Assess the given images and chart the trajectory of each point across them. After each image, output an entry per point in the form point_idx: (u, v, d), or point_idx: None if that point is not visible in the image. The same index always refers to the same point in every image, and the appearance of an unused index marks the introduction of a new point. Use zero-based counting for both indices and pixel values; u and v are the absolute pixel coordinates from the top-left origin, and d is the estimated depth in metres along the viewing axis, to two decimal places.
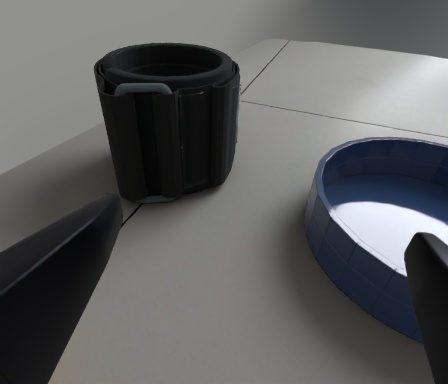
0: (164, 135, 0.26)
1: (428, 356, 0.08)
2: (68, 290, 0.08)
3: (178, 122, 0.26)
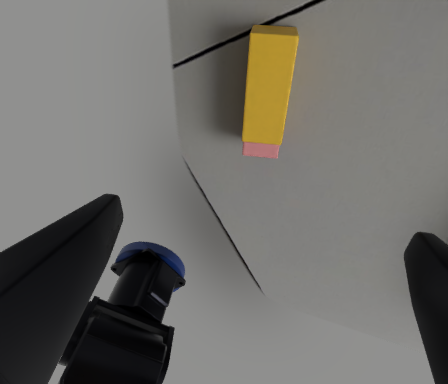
0: None
1: (428, 356, 0.08)
2: (68, 290, 0.08)
3: None
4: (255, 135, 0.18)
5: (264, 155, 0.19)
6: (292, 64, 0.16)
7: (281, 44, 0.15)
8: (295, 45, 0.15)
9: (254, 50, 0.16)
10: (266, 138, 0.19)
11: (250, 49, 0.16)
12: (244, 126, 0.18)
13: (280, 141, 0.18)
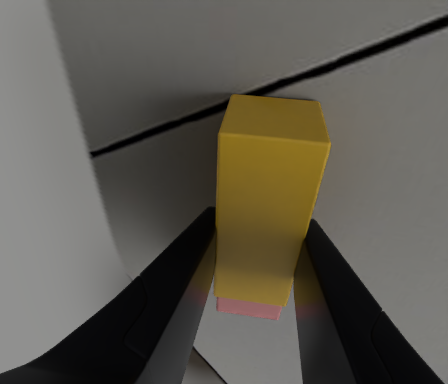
0: None
1: (298, 336, 0.08)
2: (194, 309, 0.07)
3: None
4: (238, 291, 0.10)
5: (255, 315, 0.11)
6: (313, 194, 0.07)
7: (289, 158, 0.07)
8: (322, 161, 0.07)
9: (229, 165, 0.07)
10: (258, 296, 0.10)
11: (220, 163, 0.07)
12: (216, 278, 0.10)
13: (284, 302, 0.10)
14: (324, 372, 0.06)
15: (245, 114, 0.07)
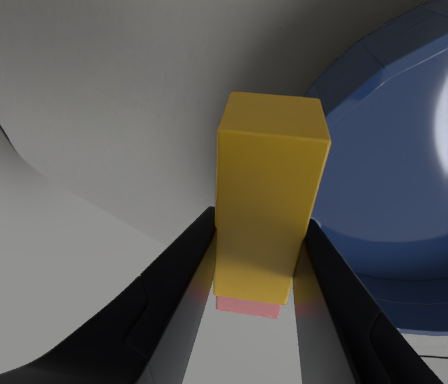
0: None
1: (298, 336, 0.08)
2: (195, 309, 0.08)
3: None
4: (237, 290, 0.10)
5: (255, 313, 0.11)
6: (313, 192, 0.07)
7: (288, 155, 0.07)
8: (322, 158, 0.07)
9: (228, 163, 0.07)
10: (258, 295, 0.10)
11: (219, 160, 0.07)
12: (216, 276, 0.10)
13: (284, 301, 0.10)
14: (323, 372, 0.06)
15: (244, 111, 0.07)
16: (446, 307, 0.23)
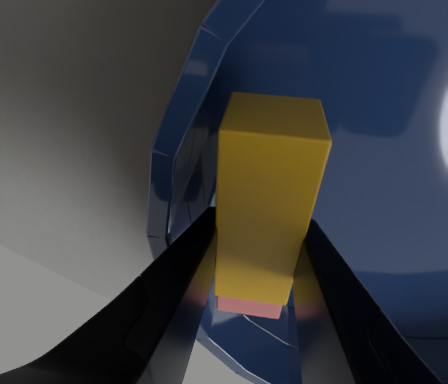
0: None
1: (298, 336, 0.08)
2: (195, 309, 0.08)
3: None
4: (238, 290, 0.10)
5: (255, 314, 0.11)
6: (314, 192, 0.07)
7: (289, 155, 0.07)
8: (323, 159, 0.07)
9: (229, 163, 0.07)
10: (259, 295, 0.10)
11: (220, 161, 0.07)
12: (217, 277, 0.10)
13: (285, 301, 0.10)
14: (323, 372, 0.06)
15: (245, 111, 0.07)
16: None
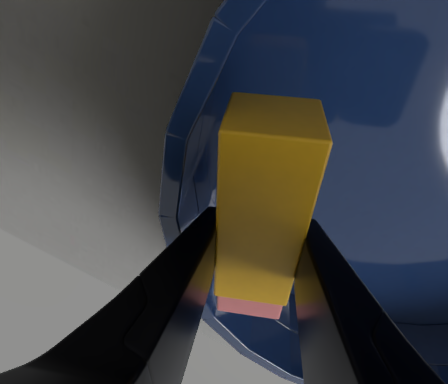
0: None
1: (299, 336, 0.08)
2: (194, 309, 0.08)
3: None
4: (238, 290, 0.10)
5: (256, 314, 0.11)
6: (314, 193, 0.07)
7: (290, 155, 0.07)
8: (323, 159, 0.07)
9: (230, 163, 0.07)
10: (259, 295, 0.10)
11: (221, 161, 0.07)
12: (217, 277, 0.10)
13: (285, 301, 0.10)
14: (325, 372, 0.06)
15: (246, 112, 0.07)
16: None
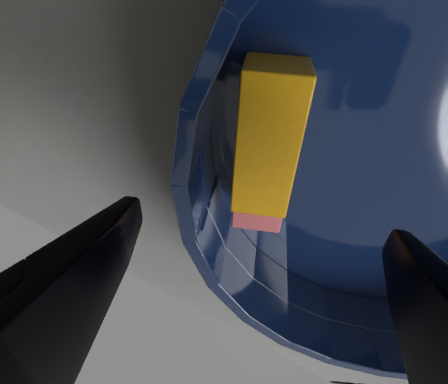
0: None
1: (402, 352, 0.08)
2: (93, 294, 0.08)
3: None
4: (249, 205, 0.13)
5: (261, 228, 0.14)
6: (305, 116, 0.10)
7: (288, 87, 0.10)
8: (310, 90, 0.10)
9: (247, 95, 0.10)
10: (264, 209, 0.13)
11: (241, 93, 0.10)
12: (233, 193, 0.13)
13: (284, 214, 0.13)
14: None
15: (258, 61, 0.11)
16: None
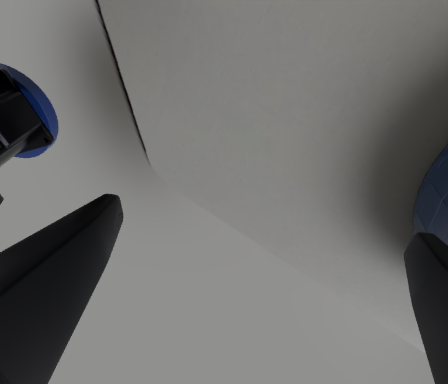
0: None
1: (428, 356, 0.08)
2: (68, 290, 0.08)
3: None
4: None
5: None
6: None
7: None
8: None
9: None
10: None
11: None
12: None
13: None
14: None
15: None
16: None
